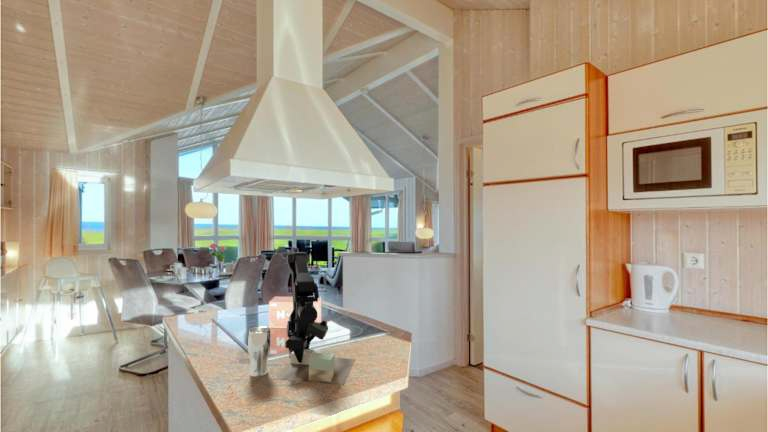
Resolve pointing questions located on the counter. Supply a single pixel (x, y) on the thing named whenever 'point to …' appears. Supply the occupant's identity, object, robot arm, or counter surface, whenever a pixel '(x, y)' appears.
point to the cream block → (305, 359)
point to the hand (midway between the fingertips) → (302, 359)
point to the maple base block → (321, 375)
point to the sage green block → (321, 361)
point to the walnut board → (302, 372)
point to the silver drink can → (259, 350)
